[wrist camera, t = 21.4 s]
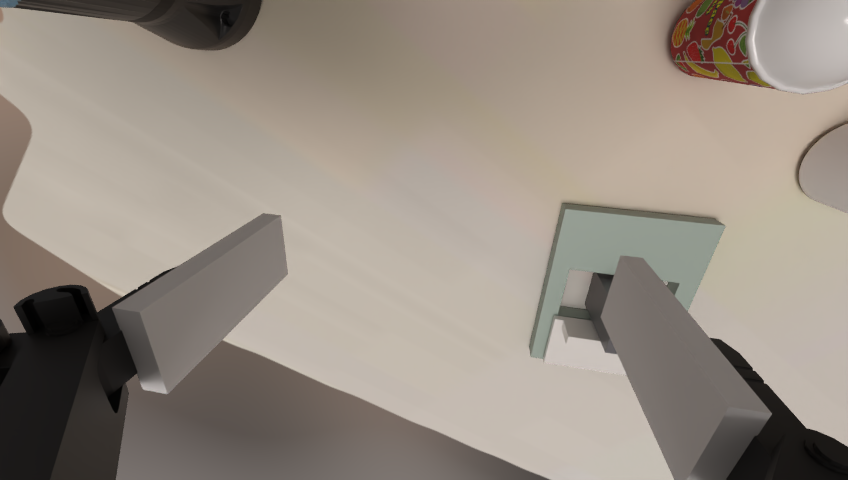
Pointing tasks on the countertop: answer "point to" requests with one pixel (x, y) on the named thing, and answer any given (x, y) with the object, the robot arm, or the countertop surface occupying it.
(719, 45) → the smoothie
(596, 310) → the plug
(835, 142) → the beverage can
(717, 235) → the socket plate
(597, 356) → the panel
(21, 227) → the countertop surface
